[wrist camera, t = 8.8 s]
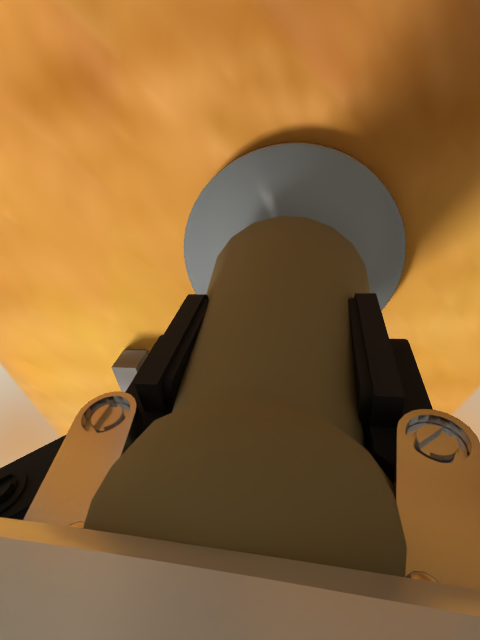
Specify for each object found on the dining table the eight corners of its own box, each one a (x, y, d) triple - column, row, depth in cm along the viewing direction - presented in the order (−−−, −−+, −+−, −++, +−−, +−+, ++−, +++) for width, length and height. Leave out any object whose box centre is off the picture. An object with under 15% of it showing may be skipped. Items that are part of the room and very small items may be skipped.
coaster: (167, 154, 13) (162, 156, 13) (421, 128, 12) (426, 131, 11) (206, 340, 18) (202, 347, 18) (388, 343, 16) (390, 351, 16)
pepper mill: (406, 270, 12) (692, 793, 3) (310, 378, 15) (302, 788, 6) (254, 182, 12) (8, 488, 2) (188, 314, 15) (-23, 660, 6)
